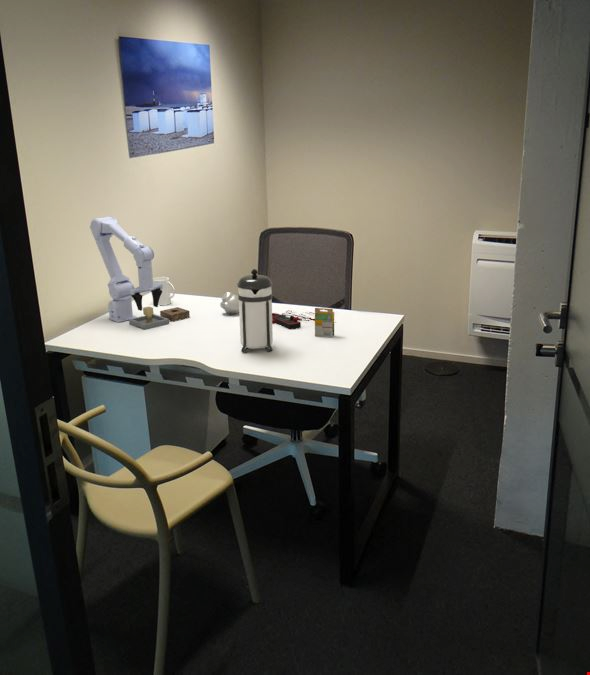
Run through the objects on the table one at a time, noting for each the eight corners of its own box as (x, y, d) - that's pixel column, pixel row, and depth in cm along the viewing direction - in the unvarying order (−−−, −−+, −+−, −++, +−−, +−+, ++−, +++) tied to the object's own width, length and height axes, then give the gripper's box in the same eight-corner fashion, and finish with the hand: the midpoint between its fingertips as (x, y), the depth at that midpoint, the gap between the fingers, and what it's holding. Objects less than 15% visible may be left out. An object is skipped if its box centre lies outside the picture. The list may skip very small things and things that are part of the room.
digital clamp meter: (291, 323, 270) (259, 309, 290) (291, 333, 271) (259, 319, 291) (338, 313, 282) (304, 301, 302) (338, 324, 283) (304, 310, 303)
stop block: (172, 321, 288) (171, 314, 287) (160, 317, 294) (160, 311, 293) (189, 317, 294) (189, 310, 293) (177, 313, 300) (177, 307, 299)
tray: (144, 329, 277) (144, 324, 276) (129, 323, 285) (128, 319, 285) (169, 323, 285) (169, 319, 284) (153, 318, 293) (153, 313, 293)
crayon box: (334, 335, 267) (334, 307, 263) (332, 337, 264) (332, 309, 260) (316, 334, 268) (316, 305, 265) (314, 336, 266) (314, 307, 262)
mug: (180, 303, 317) (178, 278, 313) (168, 307, 310) (166, 282, 306) (161, 300, 323) (159, 275, 319) (149, 304, 316) (147, 279, 312)
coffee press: (287, 347, 253) (285, 268, 244) (254, 357, 243) (252, 275, 234) (256, 337, 265) (254, 262, 256) (224, 346, 254) (221, 268, 245)
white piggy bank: (222, 311, 303) (221, 289, 300) (243, 311, 303) (242, 289, 300) (219, 316, 295) (218, 294, 291) (241, 316, 294) (240, 294, 291)
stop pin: (148, 324, 283) (146, 309, 281) (144, 322, 285) (142, 307, 283) (154, 322, 285) (153, 307, 283) (150, 321, 287) (149, 306, 285)
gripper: (135, 281, 271) (137, 313, 276) (165, 275, 281) (167, 306, 285) (126, 278, 276) (128, 310, 280) (156, 272, 286) (158, 303, 290)
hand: (147, 308), depth 283 cm, fingers open, 7 cm apart
